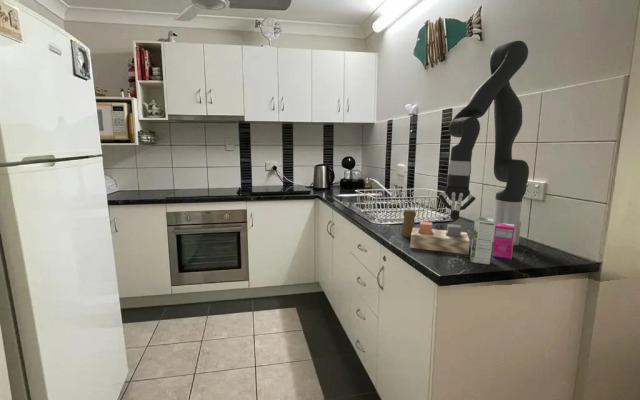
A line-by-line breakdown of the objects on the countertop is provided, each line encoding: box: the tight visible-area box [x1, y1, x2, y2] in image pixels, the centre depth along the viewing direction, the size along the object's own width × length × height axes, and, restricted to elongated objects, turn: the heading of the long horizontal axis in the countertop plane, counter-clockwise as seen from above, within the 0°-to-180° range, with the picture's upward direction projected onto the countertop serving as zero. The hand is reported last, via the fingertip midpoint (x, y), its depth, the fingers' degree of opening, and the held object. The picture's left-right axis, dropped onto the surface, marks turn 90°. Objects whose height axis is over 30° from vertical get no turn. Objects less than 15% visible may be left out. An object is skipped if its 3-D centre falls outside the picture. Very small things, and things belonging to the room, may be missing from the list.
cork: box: [400, 208, 417, 238], centre depth 140 cm, size 6×6×11 cm
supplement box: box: [492, 223, 515, 261], centre depth 114 cm, size 6×6×12 cm
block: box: [409, 226, 471, 255], centre depth 125 cm, size 20×12×5 cm, turn 71°
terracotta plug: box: [419, 221, 433, 234], centre depth 126 cm, size 4×4×5 cm
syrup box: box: [469, 216, 495, 265], centre depth 109 cm, size 6×6×14 cm
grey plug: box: [446, 223, 462, 237], centre depth 123 cm, size 4×4×5 cm
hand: (454, 220), depth 122 cm, fingers closed
